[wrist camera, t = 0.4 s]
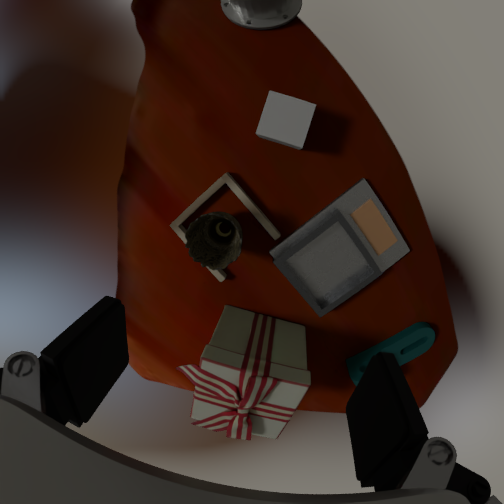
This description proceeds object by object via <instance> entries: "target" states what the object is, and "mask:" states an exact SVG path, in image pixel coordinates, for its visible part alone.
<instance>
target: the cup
mask: <svg viewBox="0 0 504 504" xmlns="http://www.w3.org/2000/svg"><path fill="white" fill-rule="evenodd" d="M222 223H227V224H228V225H229V226H230V230H229V232H228V233H222V232H221V231H220V225H221V224H222ZM185 238H186V240H187V243H186V246H185V247H186V248H188V247H189V248H190V249H189V255H190V256H191V257H193V260H194V261H195V262H201V265H202V267H205V266H207V267H209V269H211V270H217V269H221V268H222V269H225V268H226V267H227V265H228V264H230V263H232V262H233V261H236V260H237V257H238V256H239V255H240V253H241V247H242V229H241V226H240V224H239V222H238V221H237V220H236V219H235V218H234V217H233V216H232V215H230V214H228V213H225V212H212V213H208V214H205V215H201V216H200V217H199V218H197V219H196V220H195V221H193V222H191V224H190V225H189V228H188V229H187V231H186V233H185Z"/></svg>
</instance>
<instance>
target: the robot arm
mask: <svg viewBox="0 0 504 504" xmlns="http://www.w3.org/2000/svg"><path fill="white" fill-rule="evenodd" d="M221 6H222V9H223V12H224V14H225V15H226V16H227V18H228V19H229V20H231V21H232V22H233V23H235V24H237V25H239V26H242V27H245V28H249V29H256V30H265V29H272V28H277V27H280V26H283V25H285V24H287V23H289V22H290V21H292V20H293V19H294V18H295V17H296V16H297V15H298V13H299V12H300V9H301V6H302V0H221ZM285 18H286V19H285ZM128 362H129V354H128V344H127V333H126V321H125V307H124V305H123V304H122V303H121V301H120V300H119V299H116V298H113V297H109V296H105V297H104V298H103V299H101V300H100V301H99V302H98V303H96V304H95V305H94V306H93V307H92V308H90V309H89V310H88V311H87V312H86V313H84V314H83V315H82V316H81V317H80V318H79V319H77V320H76V321H75V322H74V323H73V324H72V325H70V326H69V327H68V328H67V329H66V330H65V331H64V332H62V333H61V334H60V335H59V336H58V337H57V338H56V339H55V340H53V341H52V342H51V343H50V344H49V345H48V346H47V347H46V348H44V349H43V350H42V351H41V356H40V357H39V358H37V356H36V355H34V354H33V353H30V352H26V351H21V352H16V353H14V354H12V355H10V356H9V357H8V358H7V360H6V361H5V363H4V368H0V504H502V503H501V502H500V501H499V500H498V499H497V498H496V497H495V496H494V495H493V496H491V497H490V494H491V488H490V485H489V483H488V481H487V480H486V479H485V478H483V477H482V476H480V475H478V474H476V473H475V472H472V471H471V470H469V469H467V468H465V467H463V466H462V465H460V464H458V463H456V457H457V454H456V450H455V448H454V446H453V445H452V444H451V443H450V442H449V441H448V440H446V439H444V438H442V437H433V438H430V439H428V437H427V434H428V433H429V432H428V430H427V427H426V425H425V422H424V420H423V417H422V415H421V413H420V410H419V408H418V406H417V403H416V401H415V399H414V396H413V394H412V392H411V390H410V387H409V385H408V383H407V381H406V379H405V376H404V374H403V372H402V370H401V368H400V366H399V364H398V362H397V360H396V357H395V355H394V354H393V353H387V352H378V353H377V354H376V355H373V356H372V358H371V359H370V361H369V363H368V365H367V367H366V369H365V371H364V373H363V375H362V377H361V379H360V381H359V383H358V385H357V387H356V388H355V390H354V392H353V394H352V396H351V397H350V399H349V401H348V403H347V406H346V415H347V420H348V426H349V432H350V438H351V444H352V450H353V457H354V464H355V471H356V477H357V480H359V481H360V482H361V487H373V486H374V489H375V492H370V493H356V494H355V493H354V494H315V495H314V494H291V493H278V492H268V491H259V490H251V489H245V488H238V487H233V486H227V485H222V484H216V483H212V482H207V481H204V480H199V479H195V478H192V477H188V476H184V475H181V474H177V473H173V472H170V471H167V470H164V469H161V468H158V467H155V466H152V465H149V464H147V463H144V462H141V461H138V460H136V459H133V458H131V457H128V456H126V455H123V454H121V453H119V452H116V451H114V450H112V449H109V448H107V447H105V446H103V445H101V444H99V443H96V442H95V441H93V440H91V439H89V438H87V437H85V436H83V435H81V434H79V433H77V432H75V431H73V430H71V429H69V428H68V427H66V426H65V425H66V423H67V422H70V423H72V424H73V425H75V426H77V427H81V425H82V423H83V422H84V423H87V422H88V421H89V419H90V418H91V416H92V415H93V414H94V412H95V411H96V409H97V408H98V406H99V405H100V403H101V402H102V401H103V399H104V398H105V396H106V395H107V394H108V392H109V391H110V389H111V388H112V386H113V385H114V383H115V382H116V381H117V379H118V378H119V377H120V375H121V374H122V372H123V371H124V370H125V368H126V367H127V365H128Z"/></svg>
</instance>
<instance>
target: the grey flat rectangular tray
mask: <svg viewBox="0 0 504 504" xmlns="http://www.w3.org/2000/svg"><path fill="white" fill-rule="evenodd" d="M409 251H410V250H409V248H408V246H407V244H406V243H405V241H404V239H403V238H402V236H401V234H400V233H399V231H398V229H397V228H396V226H395V224H394V223H393V221H392V219H391V218H390V216H389V215H388V213H387V211H386V210H385V208H384V207H383V205H382V204H381V202H380V201H379V199H378V198H377V196H376V195H375V193H374V192H373V190H372V189H371V187H370V186H369V184H368V183H367V182H366V180H365V179H364V178H362V179H360V180H359V181H358V182H357V183H355V184H354V185H353V186H352V187H350V188H349V189H348V190H346V191H345V192H344V193H343V194H341V195H340V196H339V197H337V198H336V199H335V200H334V201H332V202H331V203H330V204H329V205H327V206H326V207H325V208H323V209H322V210H321V211H320V212H318V213H317V214H316V215H314V216H313V217H312V218H311V219H309V220H308V221H307V222H305V223H304V224H303V225H301V226H300V227H299V228H298V229H296V230H295V231H294V232H292V233H291V234H290V235H289V236H287V237H286V238H285V239H283V240H282V241H281V242H280V243H278V244H277V245H276V246H274V247H273V248H272V249H270V250H269V253H270V254H271V255H272V256H273V263H274V264H275V265H276V266H277V268H278V269H279V270H280V271H281V272H282V273H283V275H284V276H285V277H286V278H287V279H288V280H289V282H290V283H291V284H292V285H293V286H294V287H295V289H296V290H297V291H298V292H299V293H300V294H301V296H302V297H303V298H304V299H305V300H306V301H307V303H308V304H309V305H310V306H311V307H312V308H313V310H314V311H315V312H316V313H317V314H318V316H319V317H322V316H323V315H325V314H326V313H328V312H329V311H331V310H332V309H334V308H335V307H337V306H338V305H340V304H341V303H342V302H344V301H345V300H347V299H348V298H350V297H351V296H352V295H354V294H355V293H357V292H358V291H359V290H361V289H362V288H364V287H365V286H366V285H368V284H369V283H370V282H372V281H373V280H375V279H376V278H377V277H379V276H380V275H381V274H383V273H382V272H384V271H385V270H386V269H388V268H389V267H390V266H391V265H393V264H394V263H395V262H397V261H398V260H399V259H400V258H402V257H403V256H404V255H405V254H407V253H408V252H409Z"/></svg>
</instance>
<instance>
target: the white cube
mask: <svg viewBox="0 0 504 504" xmlns="http://www.w3.org/2000/svg"><path fill="white" fill-rule="evenodd" d="M315 107H316V105H315V104H312V103H309V102H306V101H303V100H300V99H297V98H294V97H290V96H287V95H284V94H280V93H277V92H273V91H269V94H268V97H267V100H266V103H265V106H264V109H263V113H262V116H261V119H260V122H259V125H258V128H257V131H256V134H257V135H258V136H259V137H260V138H264V139H267V140H270V141H274V142H277V143H280V144H283V145H286V146H289V147H292V148H296V149H299V150H300V149H302V148H303V144H304V141H305V138H306V135H307V132H308V129H309V126H310V123H311V120H312V116H313V113H314V110H315Z"/></svg>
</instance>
